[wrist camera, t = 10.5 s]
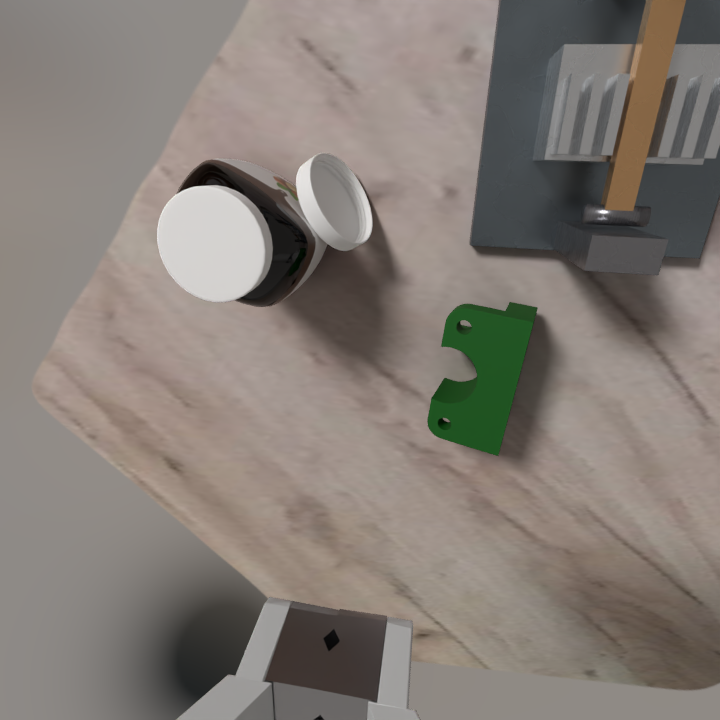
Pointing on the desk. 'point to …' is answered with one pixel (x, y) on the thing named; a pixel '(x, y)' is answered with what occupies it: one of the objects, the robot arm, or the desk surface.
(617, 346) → the desk surface
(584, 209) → the wooden handle
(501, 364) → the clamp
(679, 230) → the heatsink mount
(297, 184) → the chocolate spread jar
